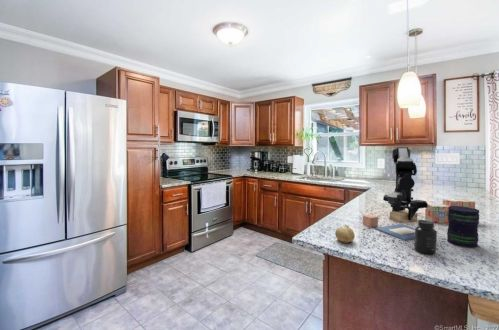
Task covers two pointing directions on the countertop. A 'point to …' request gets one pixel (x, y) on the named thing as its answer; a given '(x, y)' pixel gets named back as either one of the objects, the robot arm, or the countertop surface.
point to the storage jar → (463, 226)
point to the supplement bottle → (425, 238)
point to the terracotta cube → (370, 220)
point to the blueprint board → (399, 231)
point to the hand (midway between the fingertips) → (403, 218)
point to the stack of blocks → (445, 209)
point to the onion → (345, 234)
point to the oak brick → (402, 216)
